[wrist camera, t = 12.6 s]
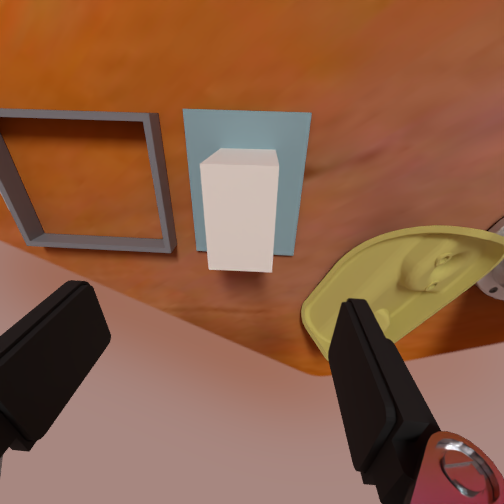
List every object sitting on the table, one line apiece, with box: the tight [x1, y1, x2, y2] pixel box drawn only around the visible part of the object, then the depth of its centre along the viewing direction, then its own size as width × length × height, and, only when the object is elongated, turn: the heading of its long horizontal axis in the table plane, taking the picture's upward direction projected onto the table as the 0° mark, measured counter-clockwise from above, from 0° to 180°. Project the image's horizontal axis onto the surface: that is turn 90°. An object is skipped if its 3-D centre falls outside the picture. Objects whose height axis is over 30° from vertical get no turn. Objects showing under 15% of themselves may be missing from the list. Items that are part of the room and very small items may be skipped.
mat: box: [183, 109, 312, 256], centre depth 24 cm, size 11×14×1 cm
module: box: [200, 148, 279, 272], centre depth 21 cm, size 5×8×8 cm, turn 179°
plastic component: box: [301, 225, 504, 361], centre depth 27 cm, size 20×7×10 cm
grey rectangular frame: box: [0, 108, 177, 253], centre depth 24 cm, size 17×13×2 cm
